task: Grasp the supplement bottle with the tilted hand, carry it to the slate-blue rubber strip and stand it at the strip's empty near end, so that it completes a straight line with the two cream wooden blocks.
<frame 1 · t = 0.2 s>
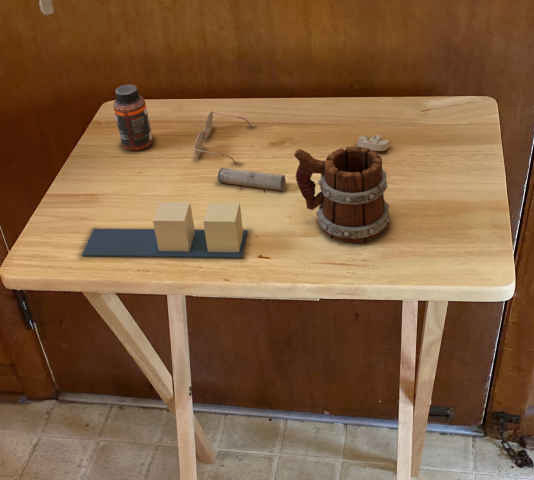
hand: (38, 4, 136), 28 cm above the table, tool pointing down, fingers open, 8 cm apart
line strip: (165, 244, 132), on the table
mug: (343, 224, 132), on the table
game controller: (365, 157, 147), on the table
cream block far: (225, 242, 130), resting on line strip
supplement bottle: (138, 144, 156), on the table
eyeglasses: (224, 145, 153), on the table
rod: (252, 186, 143), on the table
cream block near: (177, 242, 131), resting on line strip
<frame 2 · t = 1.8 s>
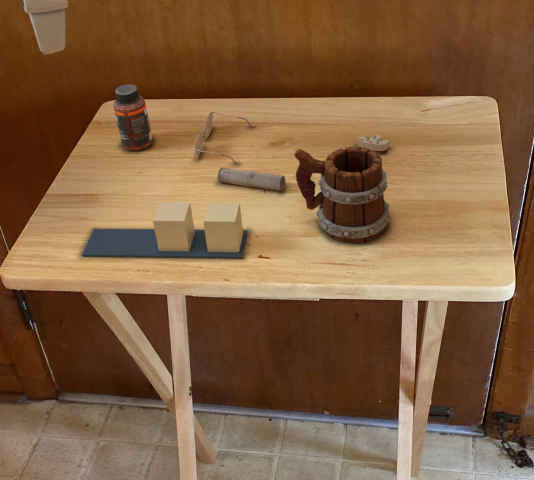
hand: (40, 28, 134), 26 cm above the table, tool tilted 25°, fingers open, 8 cm apart
nothing on the table moved.
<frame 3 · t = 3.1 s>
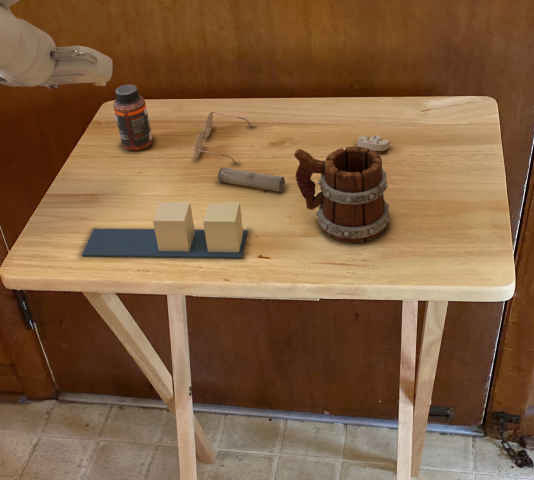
hand: (79, 83, 138), 17 cm above the table, tool tilted 45°, fingers open, 8 cm apart
nothing on the table moved.
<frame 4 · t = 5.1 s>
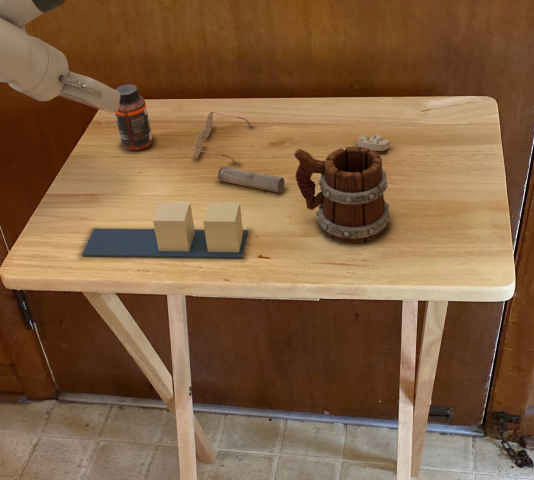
hand: (96, 100, 144), 12 cm above the table, tool tilted 45°, fingers open, 8 cm apart
nothing on the table moved.
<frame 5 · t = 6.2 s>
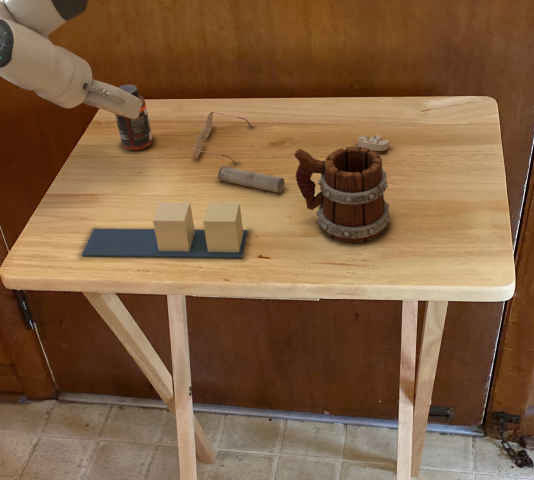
hand: (117, 107, 149), 9 cm above the table, tool tilted 45°, fingers open, 8 cm apart
nothing on the table moved.
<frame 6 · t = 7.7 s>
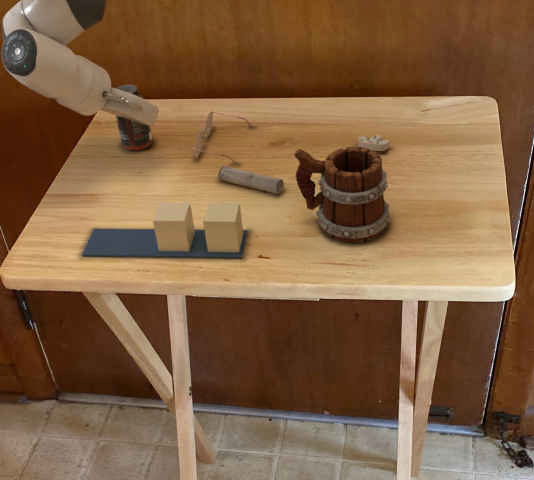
hand: (134, 114, 152), 6 cm above the table, tool tilted 45°, fingers closed on supplement bottle, 6 cm apart
supplement bottle: (138, 144, 156), on the table, touching gripper
everything else where it was.
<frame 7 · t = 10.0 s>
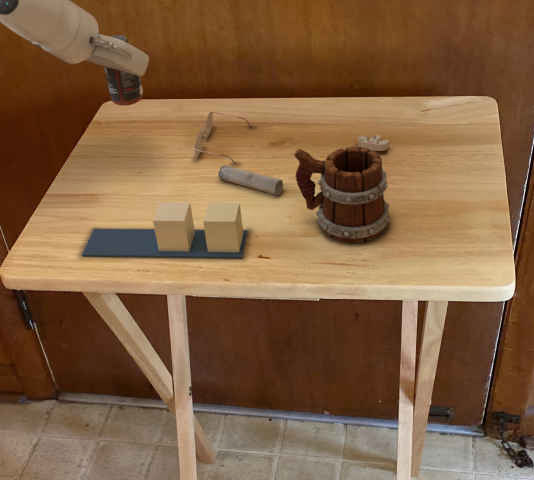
hand: (123, 67, 146), 15 cm above the table, tool tilted 45°, fingers closed on supplement bottle, 6 cm apart
supplement bottle: (128, 100, 149), point 9 cm above the table, touching gripper
everything else where it was.
when the fingers open (6 cm above the table, at t = 17.8 s): supplement bottle stays where it is, resting on line strip.
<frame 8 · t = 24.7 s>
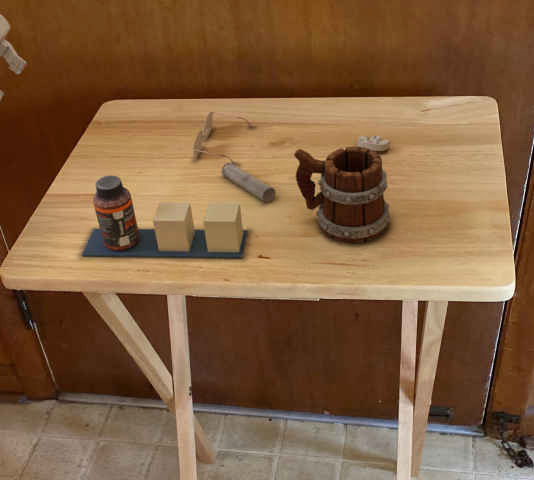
hand: (12, 84, 117), 27 cm above the table, tool tilted 45°, fingers open, 8 cm apart
supplement bottle: (122, 242, 133), resting on line strip
at the end: supplement bottle 0.1 cm from the target spot on the line strip, point 0.2 cm above the line strip's base; supplement bottle tilted 0°; cream block near moved 0.0 cm from its start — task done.
